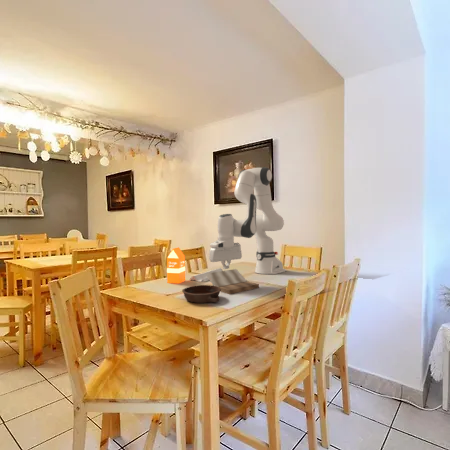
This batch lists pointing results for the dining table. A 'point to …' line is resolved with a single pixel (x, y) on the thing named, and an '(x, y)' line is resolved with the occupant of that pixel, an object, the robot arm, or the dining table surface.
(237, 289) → the walnut floorboard
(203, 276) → the crown molding
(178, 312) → the dining table surface
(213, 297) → the dish
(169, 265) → the orange juice
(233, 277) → the grey striped panel
